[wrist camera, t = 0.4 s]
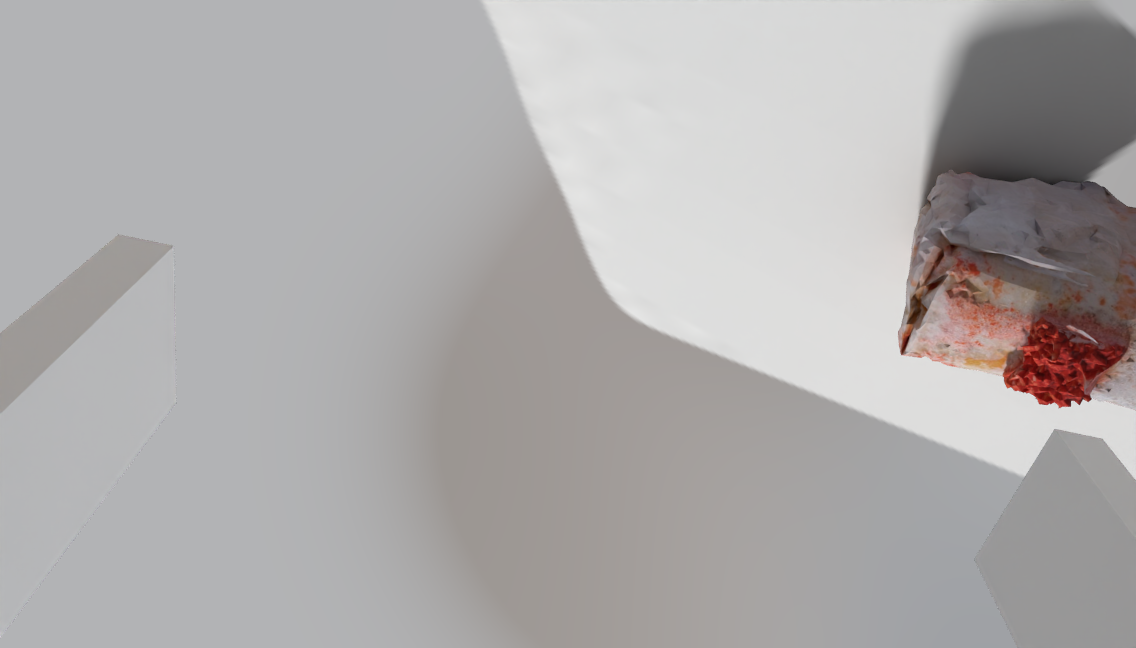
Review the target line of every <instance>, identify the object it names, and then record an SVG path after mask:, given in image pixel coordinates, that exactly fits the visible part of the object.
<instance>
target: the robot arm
mask: <svg viewBox="0 0 1136 648" xmlns="http://www.w3.org/2000/svg"><path fill="white" fill-rule="evenodd" d="M174 274H175V273H174V246H172V245H167V244H163V243H158V242H153V241H148V240H143V239H139V238H134V237H129V236H124V235H117V236H116V237H115V238H114V239H113V240H111V241H110V242H109V243H108V244H107V245H105V246H104V247H103V248H102V249H101V250H99V251H98V252H97V253H96V254H95V255H93V256H92V257H91V258H90V259H89V260H87V261H86V262H85V263H84V264H83V265H82V266H80V267H79V268H78V269H77V270H75V271H74V272H73V273H72V274H71V275H69V276H68V277H67V278H66V279H65V280H63V282H61V283H60V284H59V285H57V286H56V287H55V288H54V289H53V290H51V291H50V292H49V293H48V294H47V295H46V296H44V297H43V298H42V299H41V300H40V301H38V302H37V303H36V304H35V305H34V306H32V307H31V308H30V309H29V310H28V311H26V312H25V313H24V314H23V315H22V316H20V317H19V318H18V319H17V320H16V321H14V322H13V323H12V324H11V325H10V326H8V327H7V328H6V329H5V330H4V331H2V332H1V333H0V638H1V637H2V635H3V634H4V633H5V631H6V630H7V629H8V627H9V626H10V625H11V623H12V622H13V621H14V619H15V618H16V616H17V615H18V614H19V612H20V611H21V610H22V609H23V607H24V606H25V605H26V603H27V602H28V601H29V599H30V598H31V597H32V595H33V594H34V593H35V591H36V590H37V589H38V587H39V586H40V585H41V583H42V582H43V581H44V579H45V578H46V577H47V575H48V574H49V573H50V571H51V570H52V568H53V567H54V566H55V564H56V563H57V562H58V561H59V559H60V558H61V557H62V555H63V554H64V553H65V551H66V550H67V549H68V547H69V546H70V544H71V543H72V542H73V541H74V539H75V538H76V537H77V535H78V534H79V533H80V531H81V530H82V528H83V527H84V526H85V524H86V523H87V522H88V520H89V519H90V518H91V516H92V515H93V514H94V513H95V511H96V510H97V509H98V507H99V506H100V504H101V503H102V502H103V500H104V499H105V498H106V497H107V495H108V494H109V492H110V491H111V490H112V489H113V487H114V486H115V485H116V483H117V482H118V481H119V479H120V478H121V476H122V475H123V474H124V472H125V471H126V470H127V468H128V467H129V465H131V463H132V462H133V460H134V459H135V458H136V456H137V455H138V454H139V453H140V451H141V450H142V449H143V447H144V446H145V445H146V443H147V442H148V440H149V439H150V438H151V437H152V435H153V434H154V432H155V431H156V430H157V428H158V427H159V426H160V424H161V423H162V422H163V420H164V419H165V418H166V416H167V415H168V414H169V412H170V411H171V410H172V408H173V407H174V406H175V404H176V348H175V347H176V345H175V343H176V342H175V276H174ZM974 561H975V563H976V564H977V567H978V568H979V571H980V573H981V575H982V577H983V579H984V581H985V583H986V585H987V587H988V589H989V591H990V593H991V595H992V597H993V599H994V601H995V603H996V605H997V607H998V609H999V611H1000V613H1001V615H1002V617H1003V619H1004V621H1005V623H1006V625H1007V627H1008V629H1009V631H1010V633H1011V635H1012V638H1013V639H1014V641H1015V644H1016V646H1017V648H1136V480H1135V479H1134V478H1133V477H1132V475H1131V474H1130V473H1129V472H1128V470H1127V469H1126V468H1125V467H1124V465H1123V464H1122V463H1121V462H1120V460H1119V459H1118V458H1117V457H1116V455H1115V454H1114V453H1113V452H1112V450H1111V449H1110V448H1109V447H1108V445H1107V444H1106V443H1105V442H1104V440H1103V439H1101V438H1096V437H1091V436H1086V435H1081V434H1077V433H1072V432H1067V431H1062V430H1057V429H1054V431H1053V433H1052V434H1051V436H1050V437H1049V439H1048V441H1047V442H1046V444H1045V445H1044V447H1043V449H1042V450H1041V452H1040V454H1039V455H1038V457H1037V458H1036V460H1035V462H1034V463H1033V465H1032V466H1031V468H1030V470H1029V471H1028V473H1027V475H1026V476H1025V478H1024V479H1023V481H1022V483H1021V484H1020V486H1019V488H1018V489H1017V491H1016V492H1015V494H1014V495H1013V497H1012V499H1011V501H1010V502H1009V504H1008V505H1007V507H1006V508H1005V510H1004V512H1003V514H1002V515H1001V517H1000V518H999V520H998V522H997V523H996V525H995V526H994V528H993V529H992V531H991V533H990V534H989V536H988V537H987V539H986V541H985V542H984V544H983V546H982V547H981V549H980V550H979V552H978V554H977V555H976V557H975V559H974Z"/></svg>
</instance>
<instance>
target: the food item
mask: <svg viewBox="0 0 1136 648" xmlns="http://www.w3.org/2000/svg"><path fill="white" fill-rule="evenodd" d="M927 200H928V203H927V204H926V205H925V206H924V207H923V208H922V209H921V210H920V215H919V219H918V222H917V225H916V228H915V231H914V238H913V244H912V255H911V262H910V270H909V276H908V279H907V288H906V307H905V311H904V316H903V320H902V325H901V328H900V329H899V331H898V338H899V347H900V352H901V355H903V356H912V357H920V358H922V357H924V356H926V357H929V358H930V359H931V360H932V361H939V362H941V363H943V364H946V365H949V366H954V367H959V368H964V369H969V370H978V371H982V372H986V373H990V374H994V375H998V376H1002V377H1004V382H1005V385H1006V387H1007V388H1010V387H1012V388H1013V389H1014V390H1015V391H1021V392H1023V393H1024V392H1026V393H1031V394H1032V395H1033V396H1035V397H1036V399H1037V400H1038V402H1039V404H1042V405H1048V404H1049V403H1050V404H1052V403H1054V402H1055V403H1056V404H1057V405H1059V408H1061V407H1062V406H1063V407H1071V401H1075V402H1077V403H1078V404H1079V405H1080V404H1081V402H1082V400H1083V399H1084V400H1086V401H1087V402H1089V401H1090V400H1091V398H1093V399H1095V400H1098V401H1106V402H1109V403H1113V404H1116V405H1119V406H1123V407H1126V408H1129V409H1133V410H1136V208H1133V207H1128V206H1126V205H1125V204H1123V203H1122V202H1120V201H1119V200H1117V199H1116V198H1115V197H1114V196H1113V195H1112V194H1111V193H1110V192H1109V191H1108V190H1107V189H1106V188H1105V187H1102V186H1100V185H1098V184H1097V183H1095V182H1090V181H1088V182H1083V183H1076V182H1068V181H1061V182H1058V183H1056V184H1054V185H1050V184H1047V183H1045V182H1042V181H1040V180H1038V179H1035V178H1029V179H1024V180H1020V181H1015V182H1007V181H1001V180H994V179H988V178H981V177H979V176H977V175H975V174H972V173H970V172H965V173H962V174H956V173H955V172H954V171H953V170H952V169H950V170H949V171H948V172H947V173H943V174H940V175H938V177H937V181H936V185H935V186H934V187H933V188H932V190H931V192H930V194H929V195H928V197H927Z"/></svg>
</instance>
